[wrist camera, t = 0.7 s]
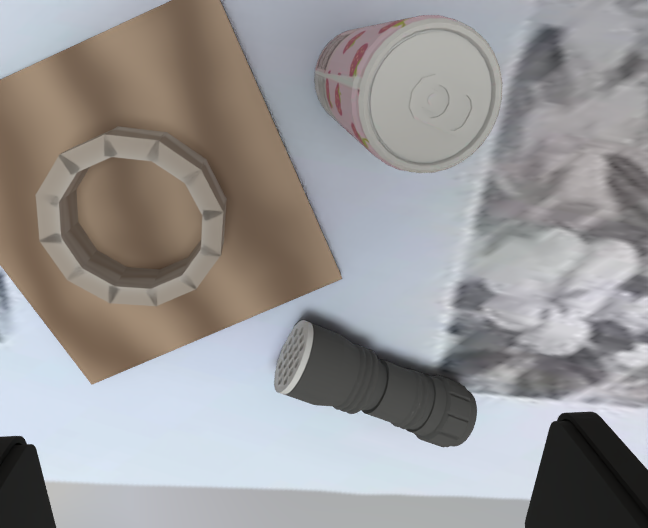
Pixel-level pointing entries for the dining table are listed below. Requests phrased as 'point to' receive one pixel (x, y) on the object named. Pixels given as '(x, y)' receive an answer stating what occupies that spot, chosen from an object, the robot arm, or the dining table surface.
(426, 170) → the beverage can
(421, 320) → the dining table surface
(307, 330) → the flashlight
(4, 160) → the socket board
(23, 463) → the robot arm
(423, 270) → the dining table surface
